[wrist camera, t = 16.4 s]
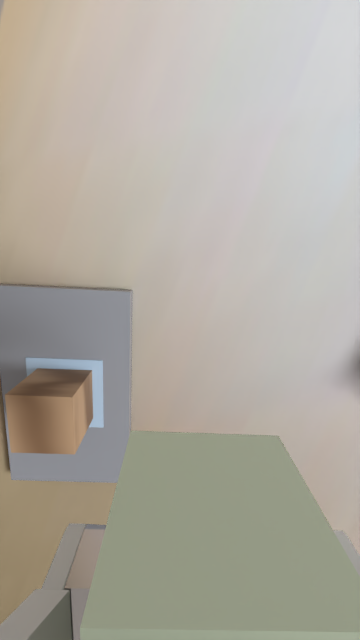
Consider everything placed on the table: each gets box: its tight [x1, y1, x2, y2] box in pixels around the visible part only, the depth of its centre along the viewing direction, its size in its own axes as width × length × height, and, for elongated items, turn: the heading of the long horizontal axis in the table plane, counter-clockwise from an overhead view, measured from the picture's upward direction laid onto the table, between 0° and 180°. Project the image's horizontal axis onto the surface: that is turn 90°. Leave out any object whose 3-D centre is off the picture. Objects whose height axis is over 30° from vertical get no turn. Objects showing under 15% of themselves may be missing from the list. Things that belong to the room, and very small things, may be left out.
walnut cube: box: [5, 368, 93, 454], centre depth 23 cm, size 5×5×5 cm
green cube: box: [80, 431, 360, 640], centre depth 7 cm, size 5×5×5 cm
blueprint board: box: [0, 284, 132, 483], centre depth 27 cm, size 12×20×1 cm, turn 177°
